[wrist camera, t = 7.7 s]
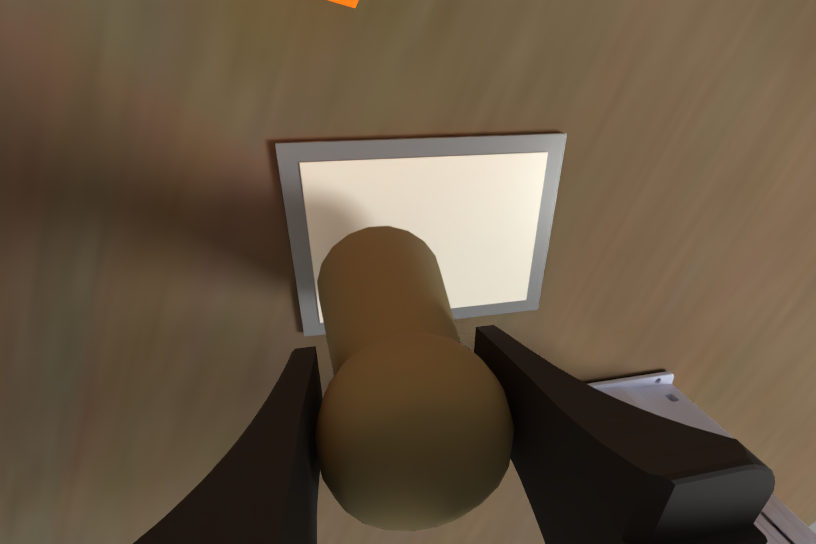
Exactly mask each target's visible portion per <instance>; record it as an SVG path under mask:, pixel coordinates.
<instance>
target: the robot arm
mask: <svg viewBox="0 0 816 544" xmlns="http://www.w3.org/2000/svg"><path fill="white" fill-rule="evenodd" d="M474 353H475V354H476V355H477V356H479V357H480V358H481V359H482V360H483V362H484V363H485V364H486V365H487V366H488V368H489V369H490V370H491V371H492V372H493V374H494V375H495V376H496V378H497V379H498V381H499V382H500V384H501V386H502V387H503V389H504V391H505V394H506V398H507V401H508V405H509V408H510V412H511V416H512V421H513V425H514V435H513V443H512V450H511V456H510V458H511V460H512V462H513V464H514V466H515V468H516V471H517V473H518V475H519V477H520V479H521V482H522V484H523V487H524V489H525V492H526V494H527V497H528V499H529V502H530V504H531V507H532V509H533V512H534V514H535V517H536V520H537V522H538V525H539V528H540V530H541V533H542V536H543V538H544V541H545V544H816V533H815V532H814V531H813V530H811V529H810V528H809V527H808V526H807V525H806V524H805V523H804V522H803V521H802V520H801V519H800V518H798V517H797V516H796V515H795V514H794V513H793V512H792V511H791V510H790V509H789V508H788V507H786V506H785V505H784V504H783V503H782V502H781V501H780V500H779V499H778V498H777V497H776V496H774V495H773V494H772V492H773V490H774V484H775V477H774V475H773V472H772V470H771V469H770V468H768V467H767V466H766V465H765V464H764V463H763V462H762V461H760V460H759V459H758V458H757V457H756V456H755V455H754V454H752V453H751V452H750V451H749V450H748V449H747V448H746V447H744V446H743V445H742V444H741V443H740V442H739V441H738V440H736V439H734V438H733V437H732V436H731V435H730V434H729V433H728V432H726V431H725V430H724V429H723V428H722V427H721V426H720V425H718V424H717V423H716V422H715V421H714V420H713V419H711V418H710V417H709V416H708V415H707V414H706V413H705V412H703V411H702V410H701V409H700V408H699V407H698V406H697V405H695V404H694V403H693V402H692V401H691V400H690V399H688V398H687V397H686V396H685V395H684V394H683V393H682V392H680V391H679V390H678V389H677V388H676V387H675V386H674V385H672V382H673V379H674V375H673V374H672V373H671V372H669V371H666V372H660V373H653V374H647V375H640V376H634V377H628V378H621V379H615V380H608V381H602V382H595V383H589V384H586V383H584V382H582V381H580V380H578V379H576V378H575V377H573V376H571V375H569V374H568V373H566V372H564V371H563V370H561V369H559V368H558V367H556V366H554V365H553V364H551V363H549V362H548V361H546V360H545V359H543V358H542V357H540V356H539V355H537V354H536V353H534V352H533V351H531V350H530V349H528V348H527V347H525V346H524V345H522V344H521V343H519V342H518V341H517V340H515V339H514V338H512V337H511V336H509V335H508V334H506V333H505V332H504V331H502V330H501V329H499V328H498V327H496V326H494V325H490V326H482V327H476V334H475V346H474ZM322 400H323V398H322V390H321V382H320V375H319V368H318V361H317V353H316V346H315V347H307V348H298V349H295V350H294V351H293V352H292V353H291V356H290V358H289V360H288V362H287V364H286V366H285V368H284V370H283V372H282V374H281V376H280V378H279V380H278V381H277V383H276V385H275V386H274V388H273V390H272V391H271V393H270V395H269V396H268V398H267V400H266V401H265V403H264V404H263V406H262V407H261V409H260V410H259V412H258V413H257V415H256V416H255V418H254V419H253V420H252V422H251V423H250V425H249V426H248V427H247V429H246V430H245V431H244V433H243V434H242V435H241V437H240V438H239V439H238V440H237V442H236V443H235V444H234V445H233V447H232V448H231V449H230V450H229V451H228V453H227V454H226V455H225V456H224V457H223V458H222V459H221V461H220V462H219V463H218V464H217V465H216V466H215V467H214V468H213V470H212V471H211V472H210V473H209V474H208V475H207V476H206V477H205V478H204V479H203V480H202V481H201V482H200V483H199V484H198V485H197V486H196V487H195V488H194V489H193V490H192V491H191V492H190V493H189V494H188V495H187V496H186V497H185V498H184V499H183V500H182V501H181V502H180V503H179V504H178V505H177V506H176V507H175V508H174V509H173V510H172V511H171V512H169V513H168V514H167V515H166V516H165V517H164V518H163V519H162V520H161V521H159V522H158V523H157V524H156V525H155V526H154V527H152V528H151V529H150V530H149V531H148V532H146V533H145V534H144V535H143V536H142V537H140V538H139V539H138V540H137V541H136V542H134V543H133V544H317V499H318V487H319V475H320V466H319V462H318V455H317V448H316V440H315V434H316V423H317V418H318V414H319V411H320V407H321V404H322Z"/></svg>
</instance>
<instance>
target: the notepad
mask: <svg viewBox="0 0 816 544" xmlns="http://www.w3.org/2000/svg"><path fill="white" fill-rule="evenodd" d="M566 137H567V134H566V133H545V134H515V135H485V136H455V137H424V138H394V139H364V140H334V141H304V142H276V143H275V147H276V153H277V160H278V166H279V173H280V180H281V186H282V193H283V199H284V206H285V212H286V219H287V225H288V232H289V239H290V245H291V252H292V258H293V265H294V271H295V278H296V284H297V291H298V298H299V304H300V311H301V317H302V324H303V330H304V337H306V336H315V335H323V334H326V332H325V327H324V322H323V317H322V312H321V306H320V301H319V294H318V285H317V280H318V276H319V272H320V268H321V264H322V262H323V260H324V259H325V257H326V256H327V254H328V253H329V251H330V250H331V248H332V247H333V246H334V245H335V244H337V243H338V242H339V241H341V240H342V239H343V238H344V237H346V236H347V235H348V234H351V233H353V232H356V231H359V230H361V229H364V228H367V227H376V226H391V227H395V228H399V229H403V230H407V231H409V232H411V233H412V234H414V235H415V236H417V237H418V238H420V239H421V240H423V241H424V242H425V243H426V244H427V246H428V247H429V248H430V249H431V251H432V252H433V253H434V255H435V256H436V259H437V262H438V265H439V268H440V271H441V275H442V278H443V282H444V286H445V289H446V293H447V296H448V300H449V304H450V307H451V311H452V314H453V318H454V319H461V318H469V317H478V316H486V315H495V314H504V313H512V312H521V311H529V310H538V305H539V299H540V293H541V287H542V281H543V275H544V269H545V263H546V257H547V251H548V245H549V239H550V233H551V227H552V221H553V215H554V209H555V203H556V197H557V191H558V185H559V179H560V173H561V167H562V161H563V155H564V149H565V143H566Z"/></svg>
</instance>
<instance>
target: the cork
mask: <svg viewBox="0 0 816 544" xmlns="http://www.w3.org/2000/svg"><path fill="white" fill-rule="evenodd" d="M317 285H318V294H319V301H320V306H321V312H322V317H323V322H324V327H325V332H326V337H327V342H328V347H329V352H330V358H331V363H332V368H333V373H334V377H333V379H332V380H331V381H330V383H329V385H328V388H327V390H326V392H325V394H324V397H323V400H322V404H321V407H320V411H319V414H318V418H317V423H316V434H315V440H316V448H317V455H318V462H319V466H320V470H321V474H322V478H323V480H324V482H325V483H326V485H327V486H328V488H329V489H330V491H331V492H332V494H333V496H334V497H335V499H336V500H337V501H338V502H339V504H340V505H341V506H342V508H343V509H344V510H345V511H346V512H348V513H349V514H351V515H352V516H353V517H355V518H356V519H358V520H359V521H361V522H362V523H364V524H368V525H371V526H374V527H377V528H381V529H384V530H398V531H416V530H422V529H428V528H433V527H438V526H440V525H443V524H445V523H448V522H451V521H453V520H456V519H458V518H460V517H462V516H463V515H465V514H466V513H468V512H470V511H471V510H473V509H474V508H476V507H477V506H479V505H480V504H482V503H483V502H484V501H485V500H486V499H487V498H488V497H489V495H490V494H491V493H492V492H493V491H494V490H495V489H496V488H497V487H498V486H499V484H500V482H501V480H502V478H503V476H504V475H505V473H506V471H507V469H508V467H509V462H510V456H511V450H512V443H513V435H514V425H513V421H512V416H511V412H510V408H509V405H508V401H507V398H506V394H505V391H504V389H503V387H502V386H501V384H500V382H499V381H498V379H497V378H496V376H495V375H494V374H493V372H492V371H491V370H490V369H489V368H488V366H487V365H486V364H485V363H484V362H483V360H482V359H481V358H480V357H479V356H477V355H476V354H475V353H474V352H473V351H471V350H470V349H469V348H467V347H465V346H463V345H461V343H460V339H459V336H458V332H457V329H456V325H455V321H454V318H453V314H452V311H451V307H450V304H449V300H448V296H447V293H446V289H445V286H444V282H443V278H442V275H441V271H440V268H439V265H438V262H437V259H436V256H435V255H434V253H433V252H432V251H431V249H430V248H429V247H428V246H427V244H426V243H425V242H424V241H423V240H421V239H420V238H418V237H417V236H415V235H414V234H412V233H411V232H409V231H407V230H403V229H399V228H395V227H391V226H376V227H367V228H364V229H361V230H359V231H356V232H353V233H351V234H348V235H347V236H346V237H344V238H343V239H342V240H341V241H339V242H338V243H337V244H335V245H334V246H333V247H332V248H331V250H330V251H329V253H328V254H327V256H326V257H325V259H324V260H323V262H322V264H321V268H320V272H319V276H318V280H317Z"/></svg>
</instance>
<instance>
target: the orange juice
mask: <svg viewBox="0 0 816 544" xmlns="http://www.w3.org/2000/svg"><path fill="white" fill-rule="evenodd" d="M329 1H332V2H335V3H339V4H342V5H346V6H349V7H352V8H355V7H356V5H357V3H358V0H329Z"/></svg>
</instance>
